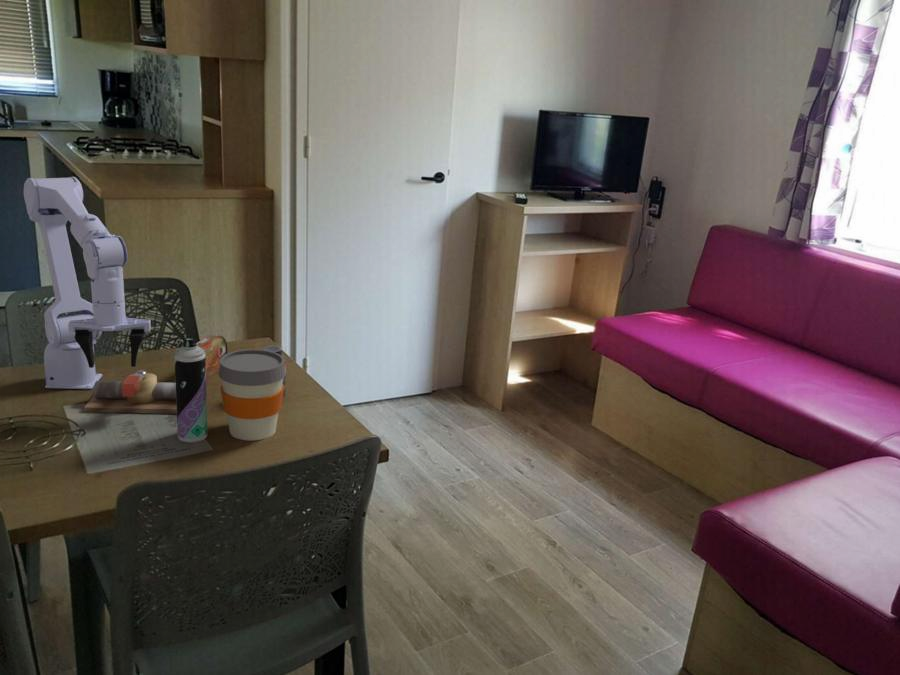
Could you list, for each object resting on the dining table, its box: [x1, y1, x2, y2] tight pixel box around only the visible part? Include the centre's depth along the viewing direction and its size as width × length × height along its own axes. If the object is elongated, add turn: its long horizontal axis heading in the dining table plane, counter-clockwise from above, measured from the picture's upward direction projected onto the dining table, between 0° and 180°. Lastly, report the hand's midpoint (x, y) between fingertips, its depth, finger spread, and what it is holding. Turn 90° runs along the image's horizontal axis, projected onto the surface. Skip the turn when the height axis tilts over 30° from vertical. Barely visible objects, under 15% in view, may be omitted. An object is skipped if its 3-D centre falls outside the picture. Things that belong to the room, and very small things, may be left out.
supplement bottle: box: [262, 345, 287, 398], centre depth 166 cm, size 6×6×11 cm
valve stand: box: [83, 372, 177, 415], centre depth 159 cm, size 20×10×6 cm, turn 97°
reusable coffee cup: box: [218, 348, 287, 442], centre depth 150 cm, size 13×13×15 cm
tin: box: [195, 334, 229, 380], centre depth 176 cm, size 15×3×8 cm, turn 166°
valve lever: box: [122, 369, 147, 397], centre depth 154 cm, size 10×2×3 cm, turn 7°
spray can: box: [174, 337, 208, 443], centre depth 144 cm, size 6×6×20 cm
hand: (113, 365), depth 151 cm, fingers open, 7 cm apart
